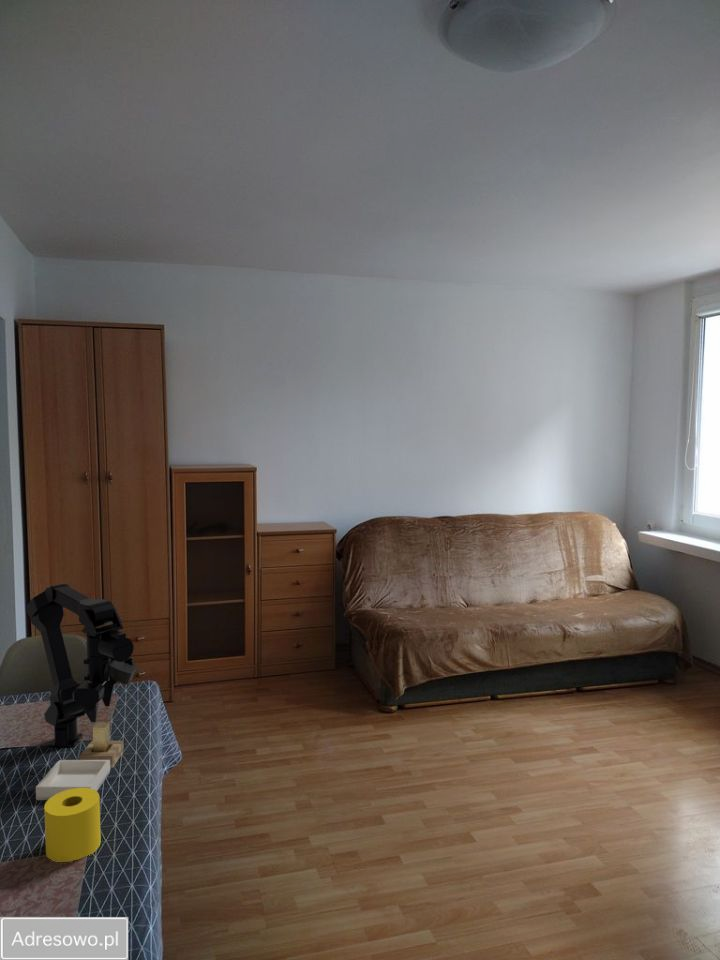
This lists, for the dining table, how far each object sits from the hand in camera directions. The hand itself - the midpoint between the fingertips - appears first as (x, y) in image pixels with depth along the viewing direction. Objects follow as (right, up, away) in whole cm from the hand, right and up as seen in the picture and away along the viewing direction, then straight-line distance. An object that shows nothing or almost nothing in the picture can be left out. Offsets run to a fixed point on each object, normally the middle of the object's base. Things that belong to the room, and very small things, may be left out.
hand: (100, 714), depth 168 cm
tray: (-2, -13, -11) cm, 17 cm away
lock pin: (0, -12, +1) cm, 12 cm away
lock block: (0, -12, +1) cm, 12 cm away
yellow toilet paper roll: (+8, -15, -34) cm, 38 cm away
